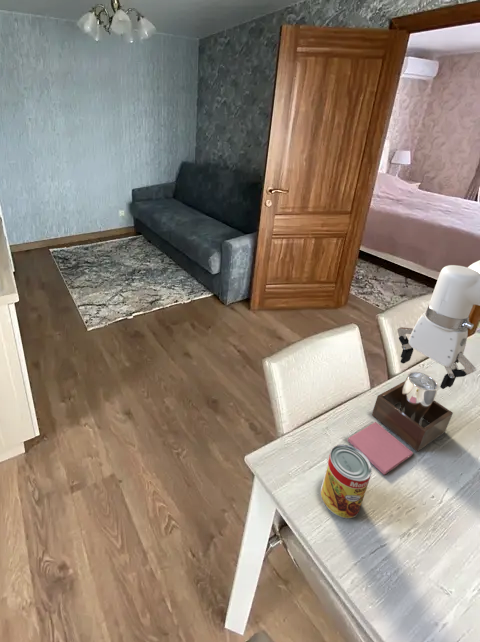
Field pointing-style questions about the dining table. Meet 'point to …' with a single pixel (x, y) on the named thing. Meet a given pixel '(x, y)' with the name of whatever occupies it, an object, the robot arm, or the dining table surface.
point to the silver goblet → (418, 395)
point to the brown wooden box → (407, 426)
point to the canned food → (345, 480)
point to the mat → (380, 447)
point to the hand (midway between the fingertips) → (423, 373)
